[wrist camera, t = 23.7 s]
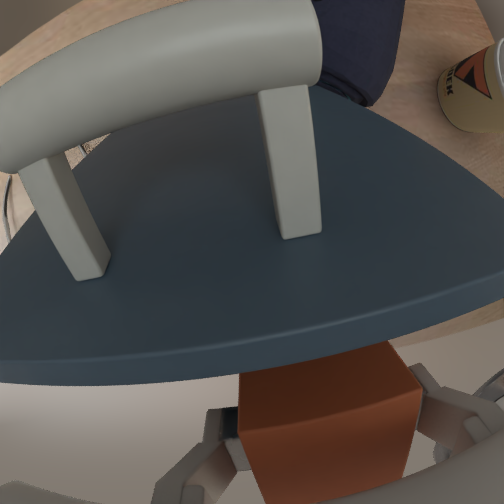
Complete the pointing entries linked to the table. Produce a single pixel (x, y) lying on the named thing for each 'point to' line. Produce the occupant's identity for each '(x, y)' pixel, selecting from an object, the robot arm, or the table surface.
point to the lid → (223, 207)
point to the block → (328, 424)
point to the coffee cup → (475, 91)
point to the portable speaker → (358, 46)
